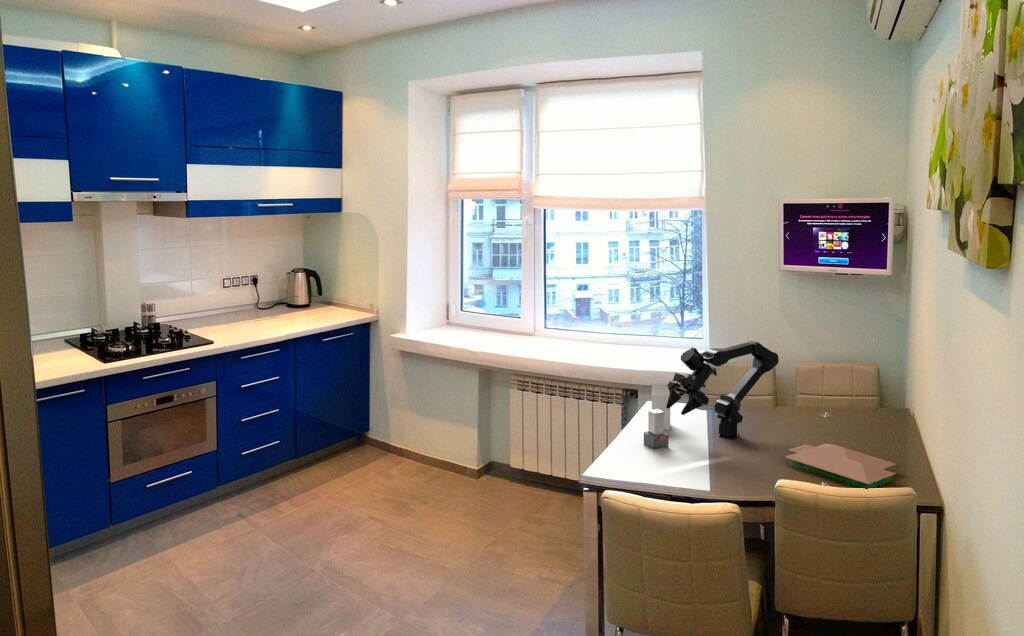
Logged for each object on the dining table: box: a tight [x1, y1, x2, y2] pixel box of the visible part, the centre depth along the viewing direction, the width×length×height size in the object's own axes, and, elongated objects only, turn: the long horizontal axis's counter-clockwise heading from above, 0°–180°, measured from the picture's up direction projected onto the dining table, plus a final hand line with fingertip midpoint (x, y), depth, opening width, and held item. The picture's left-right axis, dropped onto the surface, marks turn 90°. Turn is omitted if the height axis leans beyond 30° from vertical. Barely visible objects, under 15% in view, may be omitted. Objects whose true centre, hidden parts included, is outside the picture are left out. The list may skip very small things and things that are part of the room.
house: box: [784, 443, 897, 489], centre depth 244 cm, size 23×33×8 cm
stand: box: [643, 430, 670, 450], centre depth 269 cm, size 10×10×6 cm
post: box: [647, 409, 665, 436], centre depth 268 cm, size 4×4×13 cm
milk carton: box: [651, 382, 671, 431], centre depth 290 cm, size 7×7×19 cm
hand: (674, 411), depth 270 cm, fingers open, 9 cm apart
